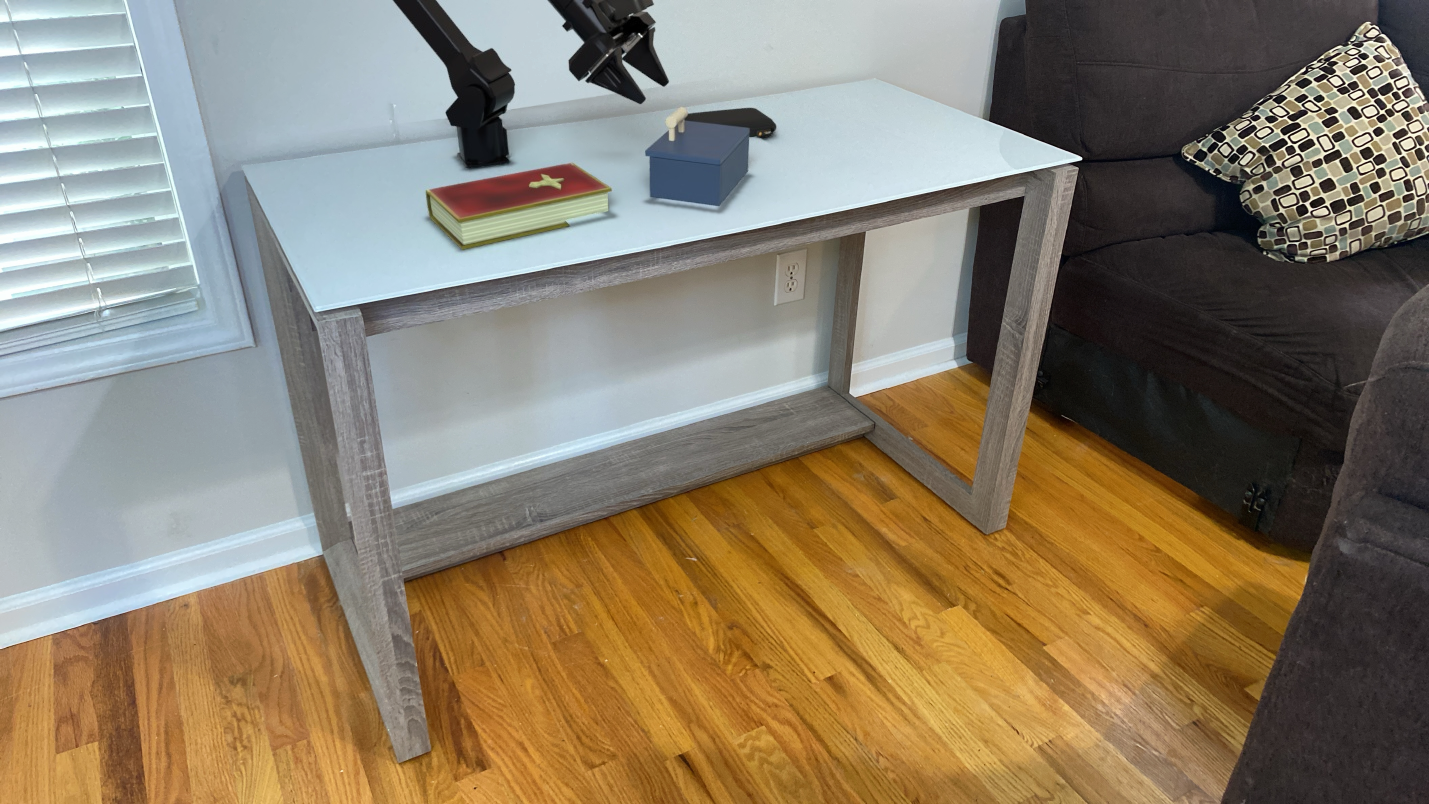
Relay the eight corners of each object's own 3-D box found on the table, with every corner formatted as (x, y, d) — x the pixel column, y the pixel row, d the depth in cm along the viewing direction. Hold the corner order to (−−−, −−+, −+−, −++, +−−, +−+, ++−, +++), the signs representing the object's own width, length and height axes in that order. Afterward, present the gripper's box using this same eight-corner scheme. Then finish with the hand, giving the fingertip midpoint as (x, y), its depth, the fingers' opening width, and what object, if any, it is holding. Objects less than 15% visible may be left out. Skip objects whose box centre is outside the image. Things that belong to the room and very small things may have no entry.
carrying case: (699, 150, 152) (783, 140, 157) (699, 130, 151) (784, 122, 156) (675, 130, 161) (756, 121, 165) (675, 111, 159) (757, 104, 164)
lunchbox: (650, 202, 134) (649, 157, 130) (683, 168, 145) (684, 126, 142) (718, 211, 131) (720, 165, 128) (747, 176, 143) (749, 133, 139)
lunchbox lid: (645, 156, 130) (644, 125, 128) (680, 125, 142) (680, 96, 140) (720, 165, 128) (720, 134, 125) (749, 133, 139) (750, 104, 137)
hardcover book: (429, 217, 127) (424, 186, 125) (572, 188, 137) (570, 159, 135) (462, 249, 119) (457, 217, 117) (612, 216, 129) (611, 186, 127)
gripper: (585, -31, 117) (671, 70, 121) (640, -52, 132) (715, 38, 136) (532, 31, 124) (615, 126, 127) (590, 4, 139) (663, 90, 142)
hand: (655, 93), depth 133 cm, fingers open, 9 cm apart
